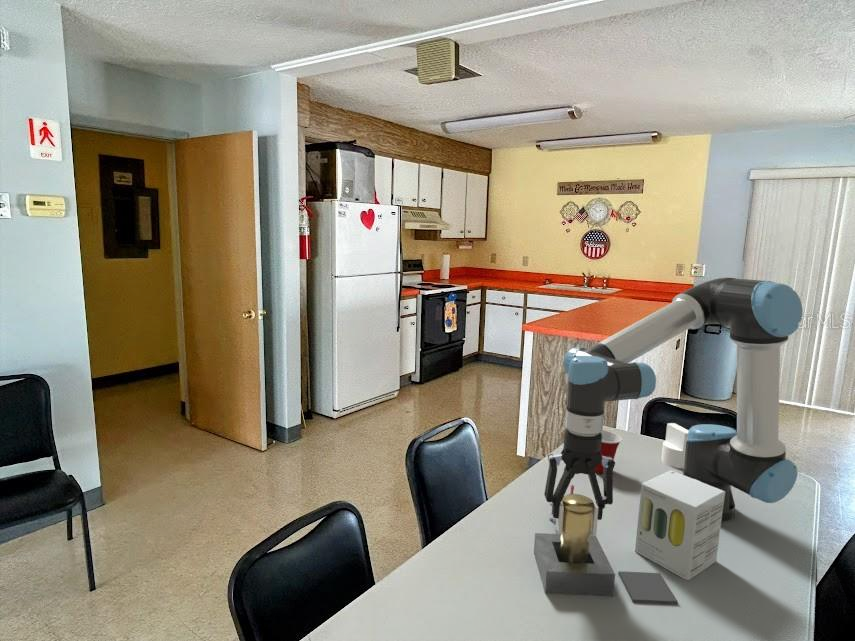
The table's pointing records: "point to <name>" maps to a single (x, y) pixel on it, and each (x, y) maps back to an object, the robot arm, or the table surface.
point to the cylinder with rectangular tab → (674, 446)
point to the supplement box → (679, 523)
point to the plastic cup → (608, 447)
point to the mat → (647, 587)
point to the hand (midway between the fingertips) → (575, 531)
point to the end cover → (576, 528)
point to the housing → (573, 568)
